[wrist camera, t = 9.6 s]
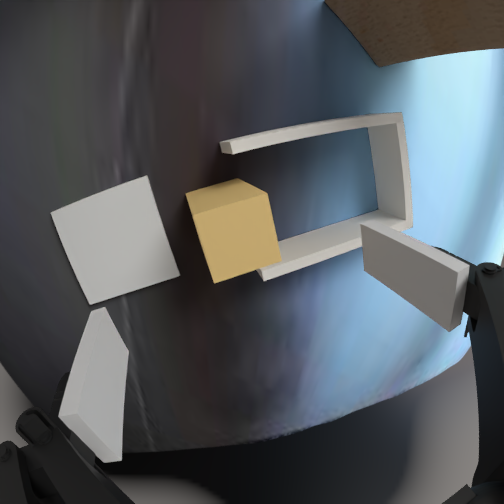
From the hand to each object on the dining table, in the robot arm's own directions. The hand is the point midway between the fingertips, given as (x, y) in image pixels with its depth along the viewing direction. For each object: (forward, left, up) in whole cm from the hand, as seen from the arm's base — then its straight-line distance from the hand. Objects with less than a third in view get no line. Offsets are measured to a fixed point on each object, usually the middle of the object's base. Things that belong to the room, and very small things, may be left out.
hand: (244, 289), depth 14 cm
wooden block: (-18, +24, -16) cm, 34 cm away
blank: (0, +1, -16) cm, 16 cm away
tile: (0, -9, -16) cm, 18 cm away
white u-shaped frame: (0, +12, -16) cm, 19 cm away
